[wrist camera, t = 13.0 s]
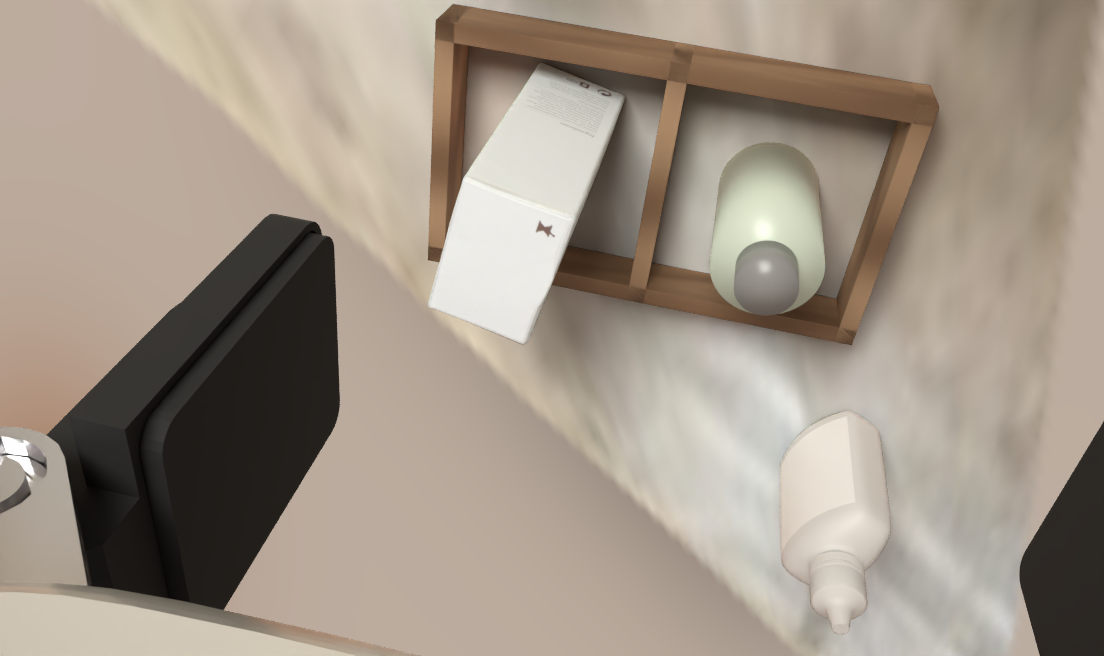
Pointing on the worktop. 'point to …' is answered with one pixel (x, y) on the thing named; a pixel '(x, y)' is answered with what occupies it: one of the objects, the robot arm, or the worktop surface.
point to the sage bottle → (768, 231)
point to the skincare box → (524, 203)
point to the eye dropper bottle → (834, 513)
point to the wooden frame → (679, 68)
